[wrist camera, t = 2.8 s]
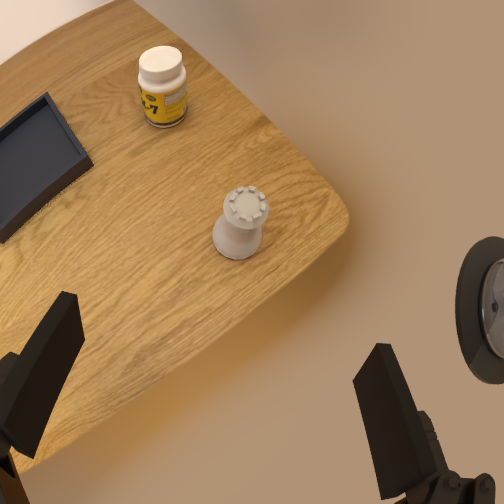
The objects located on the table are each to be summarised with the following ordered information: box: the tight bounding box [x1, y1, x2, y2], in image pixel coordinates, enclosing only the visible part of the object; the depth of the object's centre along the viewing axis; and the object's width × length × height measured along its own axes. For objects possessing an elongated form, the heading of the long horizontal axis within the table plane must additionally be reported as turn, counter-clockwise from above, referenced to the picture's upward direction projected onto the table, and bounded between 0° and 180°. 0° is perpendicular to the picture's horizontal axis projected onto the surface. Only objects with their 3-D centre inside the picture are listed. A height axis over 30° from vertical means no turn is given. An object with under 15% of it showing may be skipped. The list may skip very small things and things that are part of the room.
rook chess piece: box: [212, 186, 269, 260], centre depth 25 cm, size 4×4×8 cm
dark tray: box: [0, 92, 93, 244], centre depth 27 cm, size 13×13×2 cm
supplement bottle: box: [138, 46, 187, 128], centre depth 28 cm, size 5×5×8 cm
